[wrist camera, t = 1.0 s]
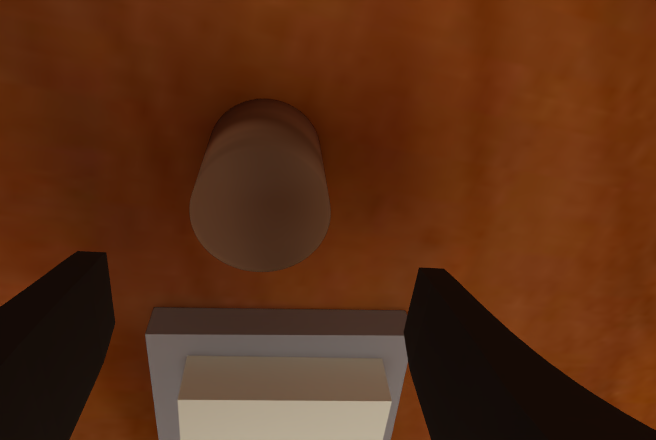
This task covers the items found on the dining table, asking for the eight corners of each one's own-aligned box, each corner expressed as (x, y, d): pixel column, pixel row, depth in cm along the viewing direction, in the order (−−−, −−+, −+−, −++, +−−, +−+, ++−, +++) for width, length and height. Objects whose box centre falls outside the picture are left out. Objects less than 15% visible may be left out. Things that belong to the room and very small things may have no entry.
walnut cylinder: (210, 199, 21) (193, 270, 17) (207, 95, 19) (185, 146, 15) (316, 203, 22) (325, 273, 17) (324, 101, 19) (336, 153, 15)
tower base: (174, 456, 30) (166, 497, 28) (156, 297, 24) (145, 334, 22) (372, 452, 32) (379, 490, 30) (402, 301, 26) (413, 335, 24)
